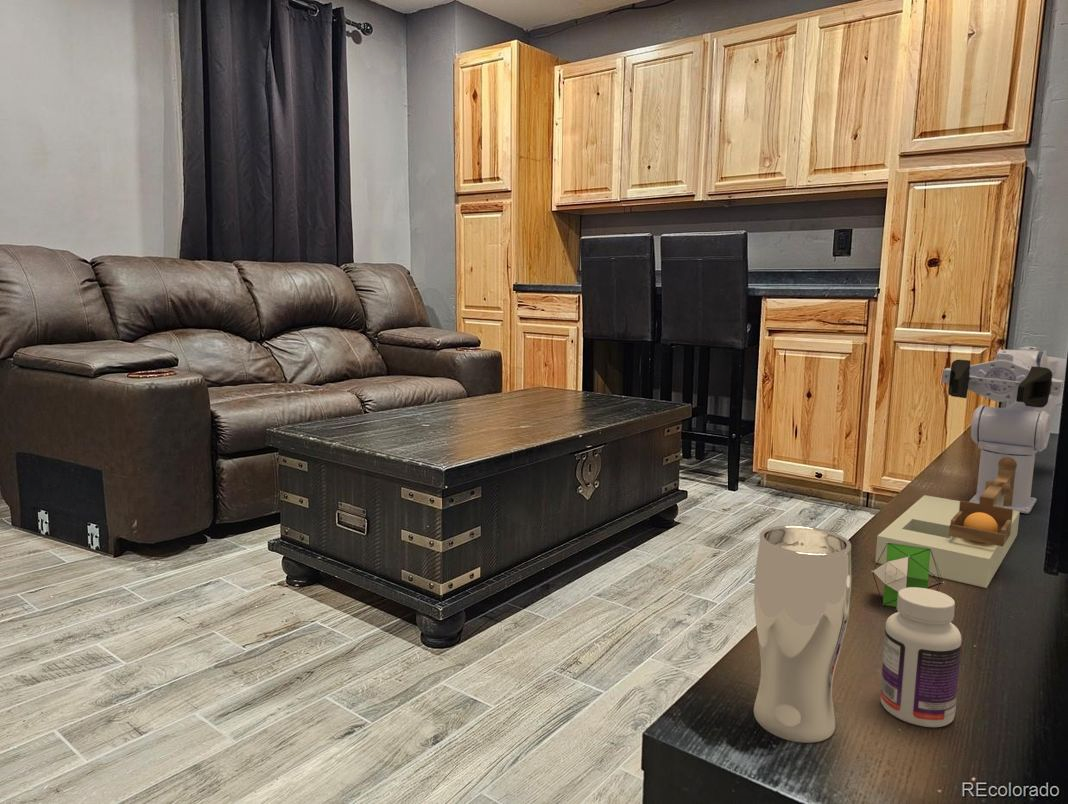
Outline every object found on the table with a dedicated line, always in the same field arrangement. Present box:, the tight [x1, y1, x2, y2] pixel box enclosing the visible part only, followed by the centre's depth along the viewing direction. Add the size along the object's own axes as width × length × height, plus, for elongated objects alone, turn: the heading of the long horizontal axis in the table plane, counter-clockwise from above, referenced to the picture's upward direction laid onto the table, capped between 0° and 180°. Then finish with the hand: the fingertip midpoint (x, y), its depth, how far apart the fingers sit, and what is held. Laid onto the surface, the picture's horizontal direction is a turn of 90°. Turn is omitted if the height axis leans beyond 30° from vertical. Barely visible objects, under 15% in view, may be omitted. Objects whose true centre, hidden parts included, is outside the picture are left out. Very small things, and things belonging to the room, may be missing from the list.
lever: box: [949, 457, 1017, 546], centre depth 93 cm, size 22×6×7 cm, turn 139°
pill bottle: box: [880, 587, 962, 728], centre depth 57 cm, size 5×5×10 cm
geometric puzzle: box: [870, 542, 945, 608], centre depth 77 cm, size 7×7×8 cm
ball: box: [963, 512, 998, 533], centre depth 87 cm, size 4×4×4 cm
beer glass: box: [753, 525, 852, 744], centre depth 56 cm, size 7×7×15 cm
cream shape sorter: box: [875, 494, 1020, 589], centre depth 94 cm, size 24×12×7 cm, turn 139°
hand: (986, 390), depth 97 cm, fingers open, 7 cm apart
